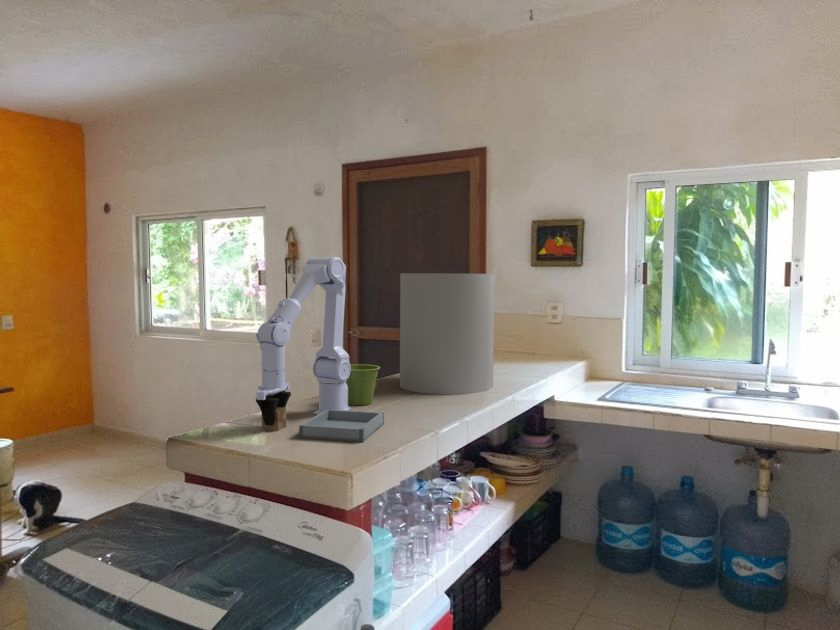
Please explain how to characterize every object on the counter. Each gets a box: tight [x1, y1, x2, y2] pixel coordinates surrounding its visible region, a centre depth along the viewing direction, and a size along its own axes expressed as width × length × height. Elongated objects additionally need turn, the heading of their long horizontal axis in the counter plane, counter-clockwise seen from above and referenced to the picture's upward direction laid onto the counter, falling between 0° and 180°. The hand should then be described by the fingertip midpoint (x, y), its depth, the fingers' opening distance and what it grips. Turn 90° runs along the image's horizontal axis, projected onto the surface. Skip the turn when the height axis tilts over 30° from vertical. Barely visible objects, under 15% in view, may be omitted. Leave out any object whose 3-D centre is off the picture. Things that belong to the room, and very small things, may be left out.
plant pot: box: [345, 363, 381, 406], centre depth 182 cm, size 12×12×11 cm
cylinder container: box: [399, 272, 496, 395], centre depth 213 cm, size 34×33×40 cm
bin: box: [298, 409, 385, 443], centre depth 150 cm, size 18×16×3 cm
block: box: [261, 407, 287, 432], centre depth 152 cm, size 4×4×5 cm
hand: (273, 422), depth 152 cm, fingers closed on block, 4 cm apart
